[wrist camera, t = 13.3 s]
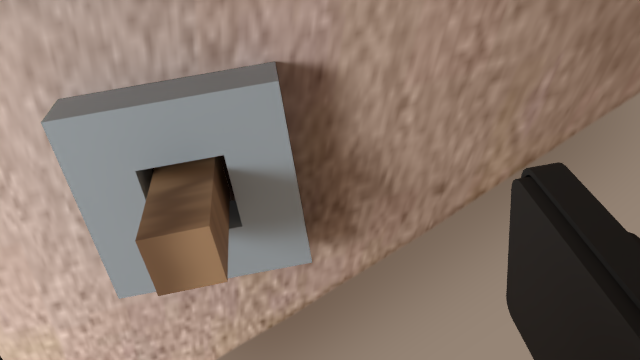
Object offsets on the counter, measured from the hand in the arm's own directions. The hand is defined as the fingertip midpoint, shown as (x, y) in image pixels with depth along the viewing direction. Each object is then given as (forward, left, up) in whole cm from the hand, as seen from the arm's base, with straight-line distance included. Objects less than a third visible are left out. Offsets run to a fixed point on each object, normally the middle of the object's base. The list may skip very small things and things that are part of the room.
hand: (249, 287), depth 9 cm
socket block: (+6, +13, -28) cm, 31 cm away
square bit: (+6, +12, -28) cm, 31 cm away
